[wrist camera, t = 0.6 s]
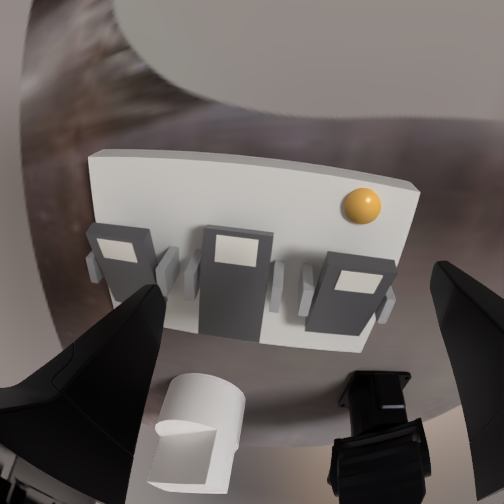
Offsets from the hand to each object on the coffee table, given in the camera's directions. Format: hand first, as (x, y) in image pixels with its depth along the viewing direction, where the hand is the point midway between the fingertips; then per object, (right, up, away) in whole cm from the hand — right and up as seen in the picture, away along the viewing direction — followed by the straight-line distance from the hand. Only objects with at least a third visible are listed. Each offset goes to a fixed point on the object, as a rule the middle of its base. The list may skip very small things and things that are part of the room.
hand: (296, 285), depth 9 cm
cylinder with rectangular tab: (-6, -15, +24) cm, 29 cm away
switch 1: (-9, 0, +10) cm, 14 cm away
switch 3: (+5, -2, +9) cm, 10 cm away
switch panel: (-2, +1, +13) cm, 13 cm away
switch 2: (-2, -1, +10) cm, 10 cm away
